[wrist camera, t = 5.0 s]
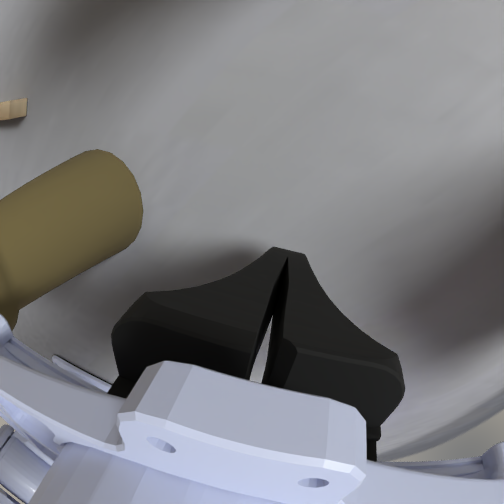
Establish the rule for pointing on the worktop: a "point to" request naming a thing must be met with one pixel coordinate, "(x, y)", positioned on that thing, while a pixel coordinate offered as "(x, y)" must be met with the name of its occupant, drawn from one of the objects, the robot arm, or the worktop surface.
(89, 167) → the olive pawn
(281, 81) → the worktop surface
